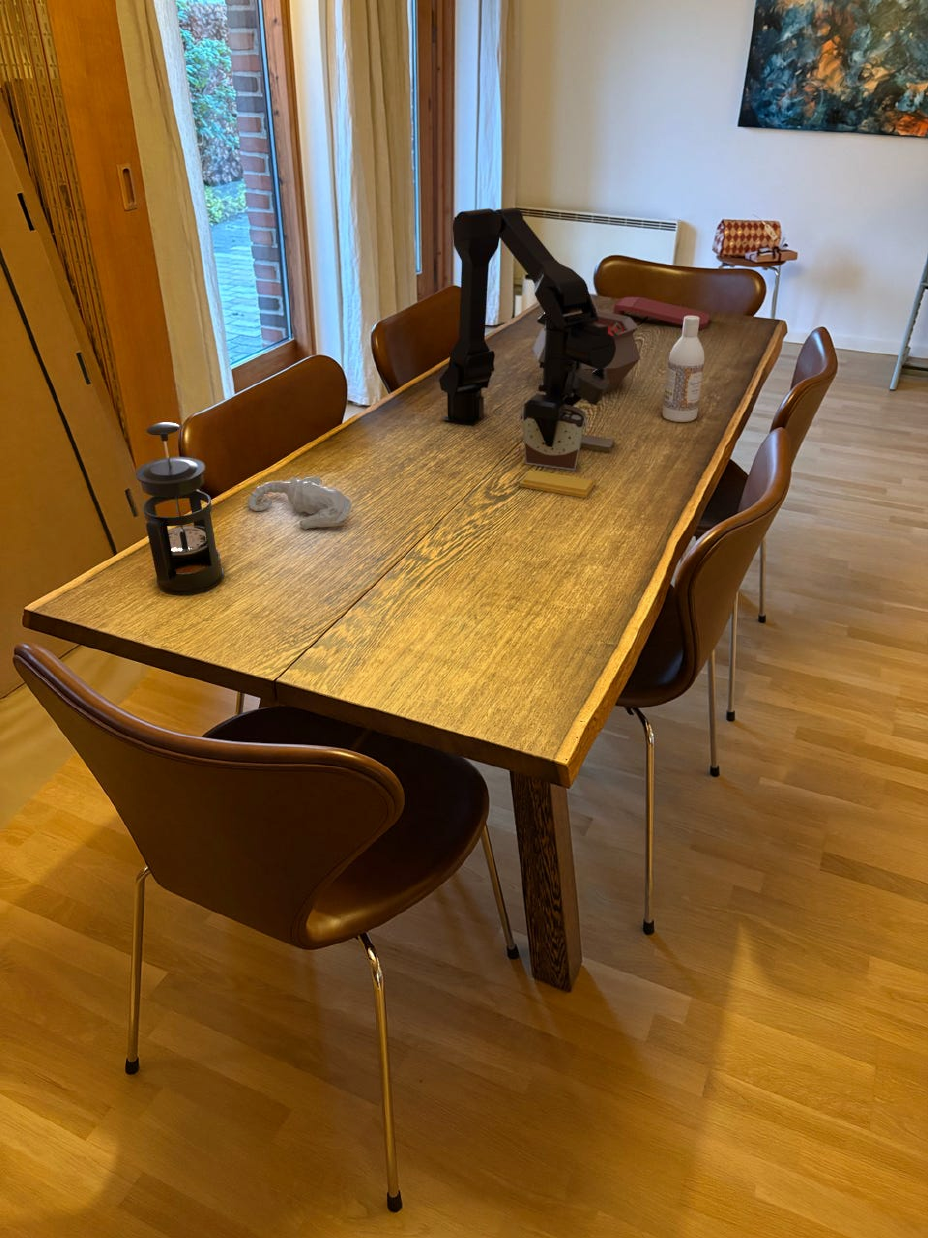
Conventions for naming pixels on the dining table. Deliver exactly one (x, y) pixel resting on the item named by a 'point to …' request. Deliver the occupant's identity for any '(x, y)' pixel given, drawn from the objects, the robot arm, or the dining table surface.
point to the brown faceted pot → (624, 341)
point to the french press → (179, 522)
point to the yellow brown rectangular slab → (557, 483)
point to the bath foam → (684, 375)
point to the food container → (555, 440)
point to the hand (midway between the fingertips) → (555, 440)
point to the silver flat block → (597, 443)
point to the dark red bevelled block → (658, 310)
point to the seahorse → (307, 501)
